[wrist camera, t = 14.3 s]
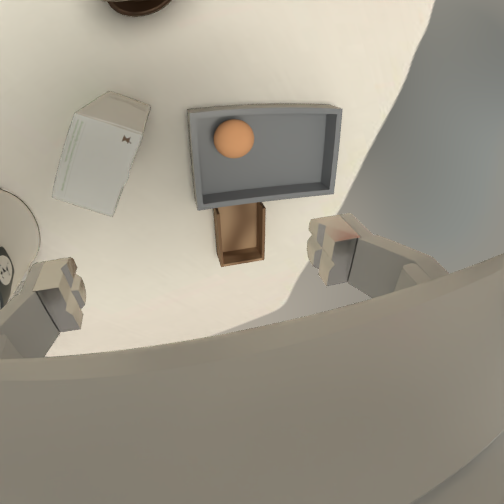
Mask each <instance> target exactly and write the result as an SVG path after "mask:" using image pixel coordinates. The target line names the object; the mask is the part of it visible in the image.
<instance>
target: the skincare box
mask: <svg viewBox="0 0 504 504" xmlns="http://www.w3.org/2000/svg"><path fill="white" fill-rule="evenodd" d="M150 108H151V106H150V105H147V104H145V103H142V102H140V101H137V100H134V99H131V98H128V97H125V96H123V95H120V94H117V93H113V92H110V91H108V92H106V93H105V94H103V95H102V96H100V97H98V98H97V99H95V100H94V101H92V102H91V103H89V104H88V105H86V106H85V107H83V108H82V109H80V110H79V111H77V112H76V113H74V116H73V119H72V122H71V125H70V128H69V131H68V134H67V137H66V141H65V144H64V148H63V151H62V154H61V158H60V162H59V166H58V170H57V174H56V178H55V183H54V187H53V193H52V198H54V199H57V200H61V201H64V202H67V203H70V204H73V205H76V206H79V207H82V208H85V209H88V210H92V211H95V212H98V213H101V214H104V215H107V216H110V217H113V215H114V213H115V210H116V207H117V204H118V201H119V199H120V196H121V193H122V190H123V188H124V185H125V184H126V182H127V180H128V178H129V173H130V172H129V171H130V169H131V166H132V163H133V161H134V158H135V155H136V153H137V150H138V147H139V145H140V142H141V140H142V137H143V132H144V129H145V125H146V121H147V118H148V114H149V111H150Z"/></svg>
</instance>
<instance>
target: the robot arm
mask: <svg viewBox="0 0 504 504" xmlns="http://www.w3.org/2000/svg"><path fill="white" fill-rule="evenodd" d="M309 231H310V233H311V234H312V235H311V237H310V238H309V239H308V241H307V254H308V258H309V260H310V262H311V264H312V265H313V266H314V267H316V268H318V269H319V273H318V275H319V276H320V277H321V279H322V280H323V282H324V283H325V285H326V286H330V285H335V284H340V283H345V282H348V283H349V284H350V285H352V286H353V287H355V288H357V289H358V290H360V291H362V292H363V293H365V294H366V295H368V296H370V297H371V298H372V299H368V300H365V301H362V302H358V303H354V304H351V305H347V306H343V307H339V308H336V309H332V310H328V311H324V312H320V313H316V314H312V315H308V316H304V317H300V318H295V319H291V320H287V321H283V322H278V323H274V324H270V325H265V326H260V327H255V328H251V329H246V330H241V331H236V332H231V333H226V334H220V335H215V336H210V337H204V338H199V339H193V340H187V341H181V342H175V343H169V344H162V345H155V346H148V347H141V348H134V349H126V350H118V351H109V352H100V353H91V354H80V355H69V356H56V357H45V355H46V353H47V352H48V350H49V349H50V347H51V346H52V344H53V343H54V341H55V340H56V338H57V337H58V335H59V334H60V333H59V332H65V331H72V330H79V329H81V324H82V319H83V313H82V311H81V309H82V308H83V306H84V305H85V302H86V290H85V286H84V283H83V280H82V278H81V277H80V276H78V275H77V274H76V270H77V266H76V264H75V261H74V259H73V258H71V257H68V258H62V259H56V260H50V261H43V262H39V263H35V264H33V265H32V267H31V270H30V272H29V266H30V264H31V263H32V261H33V260H34V259H35V257H36V255H37V253H38V250H39V245H40V237H39V230H38V227H37V224H36V221H35V219H34V217H33V215H32V214H31V212H30V210H29V209H28V208H27V207H26V205H25V204H24V203H23V202H22V201H21V200H19V199H18V198H17V197H15V196H14V195H12V194H10V193H7V192H5V191H3V190H1V189H0V504H504V253H503V254H500V255H498V256H495V257H493V258H490V259H488V260H485V261H483V262H480V263H477V264H475V265H472V266H469V267H467V268H464V269H461V270H458V271H455V272H453V273H450V274H449V273H448V272H447V271H446V270H445V269H444V268H443V267H442V266H441V265H440V264H439V263H438V262H437V261H436V260H435V259H434V258H433V257H431V256H429V255H427V254H424V253H421V252H419V251H416V250H414V249H412V248H409V247H407V246H405V245H402V244H399V243H397V242H395V241H392V240H389V239H387V238H384V237H381V236H379V235H373V234H372V233H371V232H370V231H369V230H368V229H367V228H366V227H365V226H364V225H363V224H362V223H361V222H360V221H359V220H358V219H357V218H355V217H354V216H353V215H352V214H350V213H346V214H340V215H335V216H328V217H322V218H316V219H311V221H310V223H309ZM25 280H26V281H25ZM23 281H25V283H24V285H23V288H22V290H21V292H20V294H17V295H15V296H14V297H13V298H12V299H11V297H12V296H13V294H14V292H15V290H16V289H17V287H18V285H19V283H20V282H23ZM10 299H11V300H10ZM9 300H10V301H9ZM8 301H9V302H8ZM7 302H8V303H7Z"/></svg>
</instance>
